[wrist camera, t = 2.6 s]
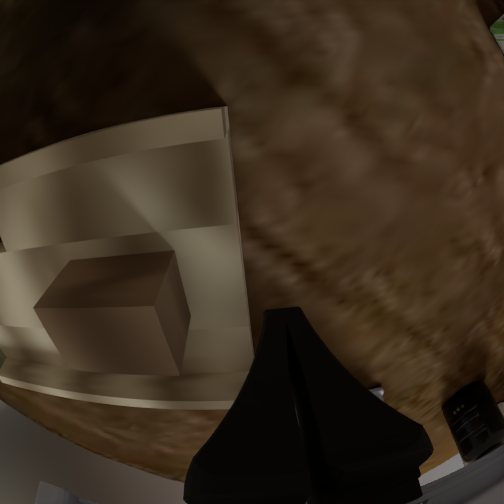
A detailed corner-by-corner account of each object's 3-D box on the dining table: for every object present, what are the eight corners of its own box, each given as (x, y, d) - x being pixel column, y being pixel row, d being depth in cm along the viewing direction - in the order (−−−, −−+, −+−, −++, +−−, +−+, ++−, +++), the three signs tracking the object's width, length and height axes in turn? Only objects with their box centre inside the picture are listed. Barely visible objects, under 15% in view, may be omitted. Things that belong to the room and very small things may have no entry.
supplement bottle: (491, 379, 26) (525, 447, 16) (456, 411, 29) (484, 477, 19) (470, 377, 25) (510, 456, 14) (431, 412, 28) (461, 489, 17)
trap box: (227, 105, 12) (221, 108, 9) (254, 359, 20) (257, 407, 16) (-59, 194, 12) (-91, 216, 9) (13, 350, 20) (-4, 380, 17)
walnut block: (174, 250, 13) (154, 306, 10) (191, 316, 15) (180, 375, 12) (69, 260, 13) (32, 307, 10) (95, 318, 15) (70, 369, 12)
